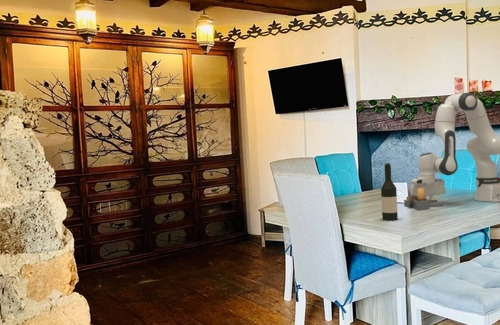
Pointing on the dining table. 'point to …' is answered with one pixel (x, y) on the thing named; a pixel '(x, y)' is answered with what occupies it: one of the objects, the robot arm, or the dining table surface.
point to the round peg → (420, 194)
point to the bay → (431, 204)
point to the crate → (411, 198)
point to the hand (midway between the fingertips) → (428, 202)
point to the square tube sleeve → (421, 204)
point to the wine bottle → (389, 197)
